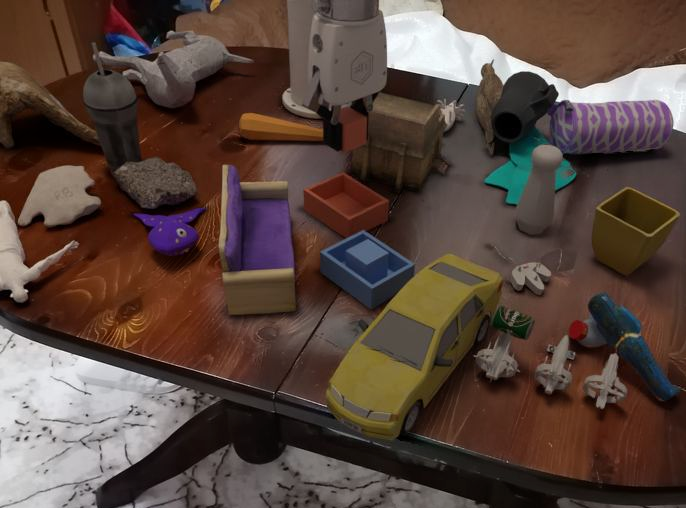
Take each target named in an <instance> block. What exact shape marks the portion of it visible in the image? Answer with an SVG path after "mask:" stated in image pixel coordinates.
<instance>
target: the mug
mask: <svg viewBox="0 0 686 508" xmlns="http://www.w3.org/2000/svg"><path fill="white" fill-rule="evenodd" d="M503 85H504V86H503V90H502V95H501V98H500V99H499V100H498V102H497V103H496V105H495V106H494V108H493V109H492V112H491V116H490V119H491V125H492V129H493V131H494V134H495V136H496V138H498V139H499V140H501V141H502V142H506V143H509V142H514V141H520V140H523V139H524V138H526V137H527V136H528V135H529V134H530V133H531V131H532V130H533V128H534V126H536V124H537V121H539V120H540V119H541V118H543V117H545V116H546V115H547V109H549V108H551V107H552V106H553V105H554V104H555V103H556V102H557V100H558V97H559V94H560V93H559V91H558V90H557V88H556V85H555V84H553V83H551V84H549V83H548V82H547V81H546V78H544V77H542V76H541V75H539V74H538V73H536V72H534V71H533V72H532V71H525V70H524V71H522V70H521V71H519V72H515V73H513V74H512V75H511V76H509V77H508V78H507V79H506V81H505V82H504V83H503Z"/></svg>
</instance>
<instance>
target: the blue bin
mask: <svg viewBox="0 0 686 508" xmlns="http://www.w3.org/2000/svg"><path fill="white" fill-rule="evenodd" d="M367 239H369V240H370V241H372V242H373V243H375V244H376V245H378V246H379V247H381V248H382V249H384V250H385V251H387V252H388V253H389V257H388V271H387V277H385V278H383V279H382V280H380V281H378V282H376V283H375V284H373V285H372V284H371V283H369V282H368V281H366V280H365V279H363V278H362V277H361V276H359V275H358V274H356V273H355V272H354V271H352V270H351V269H349V268H348V267H347V266H346V250H348V249H349V248H351V247H353V246H355V245H357V244H359V243H361V242H363V241H365V240H367ZM319 259H320V261H319V263H320V264H319V265H320V267H319V269H320V274H322V275H323V276H325V277H326V278H327V279H329V280H330V281H331V282H333V283H334V284H336V285H337V286H338V287H340V289H342V290H343V291H344V292H346V293H348V294H349V295H351V296H352V297H353V298H354V299H356V300H357V301H358V302H360V303H361V304H363V305H364V306H366V307H367V308H368V309H369V310H373V309H374V308H376V307H378V306H379V305H381V304H383V303H384V302H386V301H388V300H390V299H392V298H394V297H395V295H396V294H397V293H398V292H399V291H400V290H401V289H402V288H403V287H404V286H405V285H406V284H407V283H408V282H409V281H410V280H411V279H412V278H413V277H414V276H415V268H416V264H415V263H414V262H413V261H411V260H409V259H408V258H406V257H405V256H403V255H402V254H400V253H399V252H398V251H396V250H394V249H393V248H392V247H390V246H388V245H387V244H385V243H384V242H382V241H381V240H379V239H378V238H377V237H375V236H373V235H372V234H371V233H369V232H368V231H364V230H362V231H360V232H358V233H356V234H354V235H352V236H350V237H348V238H344V239H342V240H340V241H338V242H336V243H334V244H332V245H330V246H328V247H326V248H324V249H323V250H321V251H320V252H319Z"/></svg>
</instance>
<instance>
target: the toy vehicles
mask: <svg viewBox="0 0 686 508" xmlns="http://www.w3.org/2000/svg"><path fill="white" fill-rule="evenodd" d="M500 335H501V336H500ZM512 337H513V336H511V335H509V334H506V333H504V332H501V331H499V334H498V337H497V339H496V341H495V343H494V345H493V348H491V344H492V340H491V341H490V342H489V344H488V347H487V348H483V349H480V350H479V351H478V352H477V354H476V355H472V357H474V358H475V363H476V365H477V366H478V367H479V369H481V370H483V371H484V372H486V373H485V377H486V378H489V379H490V381H489V383H491V382H492V380H494V381H497V380H498V379H500V378H512V377H513V376H515V375H516V373H517V372H518V373H521V371H520V370H519V369H518V366H519V364H518V362H517V361H516V360H515V358H514V357H515V353H516V348H515V349H514V351H513V353H512V354H511V356H510V352H511V349H512V345H513V342H514V339H515V337H513V338H512ZM569 345H570V339H569V335H568V334H565V335H564V336H562V338H561V340H560V341H559V343H558V344H557V346H556V345H552V344H548V346H547V350H546V351H547V352H550V353H552V357H551V363H546V362H547V360H548V358H549V356H548V355H546V356H545V360H544V362H543V363H541V364H539V365H537V366H536V370H535V372H534V379H535V380H536V381H537V382H538V383H539V384H541V385H543V386H542V387H543V388H544V393H545V394H548V395H552V394H553V392H554V391H555V390H568V389H569V388H570V387H571V384H572V381H573V374H572V373H571V371H570V368H571V367H572V363H569V364H568V369H565V368H564V367H565V365H566V362H567V359H571V360H574V359H575V356H576V352H574V350H572V351H571V350H569V348H570V347H569ZM619 358H620V356H618V353H615V352H614V353H610V355H609V358H608V359H607V361H606V362H605V366H604V368H603V369H602V372H601V375H599V374H598V375H597V374H593V375H589V376H587V377H586V378H585V379H584V381H583V385H582V389H583V391H584V392H585V394H586V395H588V396H589V397H591V398H592V399H595V398H596V395H597V392H596V391H595V390H593V389H596V390H598V391H599V395H598V396H597V398H596V403H595V408H597V409H601V410H604V408H605V406H606V403H609V404H617V403H616V399H615V397H617V402H618V403H621V402H624V401H625V399H626V398H627V395H628V393H629V392H628V388H627V387H626V385H625V384H623V383H622V382H621V381H620V377H618V376H617V374H618V372H617V370H618V367H619V365H618V362H619ZM563 377H564V378H563ZM598 383H600V385H599V384H598ZM612 387H614V389H612ZM592 388H593V389H592ZM618 390H619V391H621V392H619V391H618ZM588 391H589V392H588ZM587 392H588V393H587ZM608 394H611V395H614V396H611V395H610V396H609V395H608Z"/></svg>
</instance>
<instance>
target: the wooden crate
mask: <svg viewBox="0 0 686 508" xmlns="http://www.w3.org/2000/svg"><path fill="white" fill-rule="evenodd" d="M368 113H369V122H368V140H366V144H365V145H362V146H360V147H357V148H355V149H352V166H351V167H352V168H351V171H350V175H351V176H354V177H357V178H359V182H360V183H361V184H363V185H366V184H367V182H368V181H373V182H377V183H380V184H384V185H388V186H392V187H394V189H393V193H396V194H400V193H401V192H402V190H403V189H404V190H408V191H412V192H415V193H420V192H421V191H422V189H423V187H424V186H425V185H426V183H427V182H428V180H429V178H430V177H431V175H432V174H434V175H439V176H442V177H444V176H445V174H446V170H447V169H448V167H451V162H449V161H447V160H446V159H445V156H442V154H441V153H442V146H443V138H444V136H443V135H444V132H443V131H444V130H445V129H446V127H447V126H448V124H446V123H445V115H444V114H440V103H436V104H435V105H434V104H430V103H425V102H422V101H418V100H413V99H408V98H405V97H401V96H396V95H392V94H388V93H383V92H381V91H379V93H378V95H377V97H376V99H375V100H374V102H373V109H372V111H371V112H368Z"/></svg>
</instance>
